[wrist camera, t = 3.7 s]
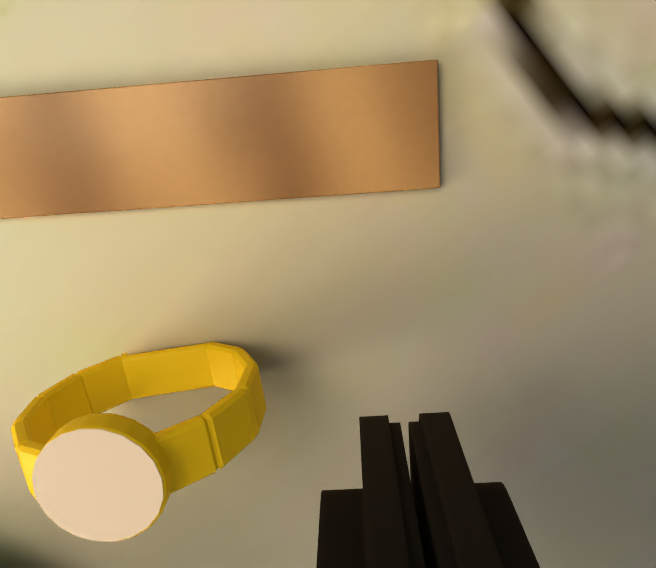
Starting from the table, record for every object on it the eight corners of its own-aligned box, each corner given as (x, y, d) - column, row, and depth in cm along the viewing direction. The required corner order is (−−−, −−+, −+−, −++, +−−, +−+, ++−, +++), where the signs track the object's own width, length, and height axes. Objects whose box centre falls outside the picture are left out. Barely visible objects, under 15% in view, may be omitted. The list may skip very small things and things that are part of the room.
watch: (96, 417, 18) (-26, 558, 12) (72, 336, 17) (-70, 446, 12) (281, 396, 17) (244, 533, 12) (265, 311, 17) (217, 414, 11)
